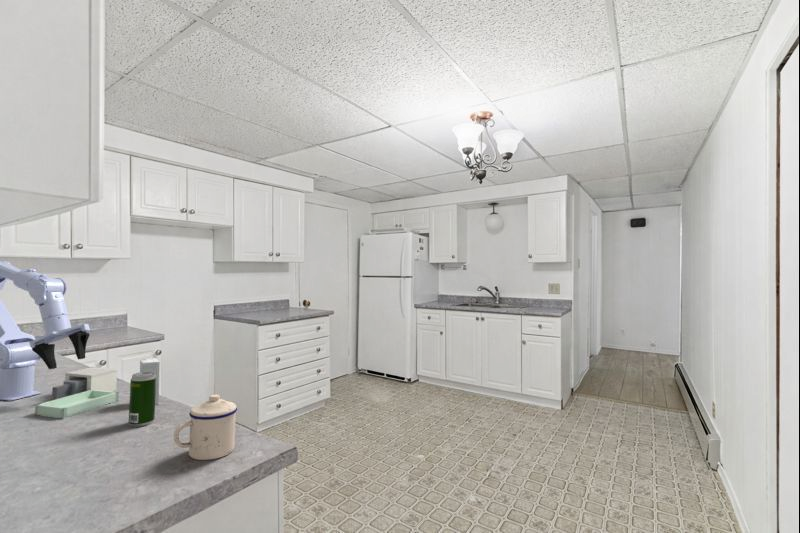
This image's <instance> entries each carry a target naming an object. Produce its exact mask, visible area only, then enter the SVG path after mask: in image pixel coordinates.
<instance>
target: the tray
mask: <svg viewBox="0 0 800 533" xmlns="http://www.w3.org/2000/svg"><path fill="white" fill-rule="evenodd" d="M116 401H117V402H119V391H103V390H94V389H92V390H89V391H85V392H81V393H78V394H74V395H71V396H67V397H63V398H60V399H56V400H52V399H51V400H48V401H45V402H42V403H39V404H35V407H34V416H38V415H41V416H40V417H46V416H47V417H48V418H56V419H61V420H63V419H67V418H69V417H70V418H71V417H72V416H76V415H79V413H80V414H82V412H83V413H85V411H86V412H89V411H92V410H94V408H95V409H97V407H98V408H101V407H104V406H106V404H107V405H110V404H114V403H117V402H116ZM109 403H110V404H109ZM103 405H104V406H103ZM100 406H101V407H100ZM88 410H89V411H88Z"/></svg>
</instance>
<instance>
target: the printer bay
mask: <svg viewBox="0 0 800 533" xmlns="http://www.w3.org/2000/svg"><path fill="white" fill-rule="evenodd" d="M64 376H65V378H64V381H67V380H71V379H75V378H79V377H87V391H89V390H92V389H94V390H103V391H112V392H115V391H114V390H116V391H117V380H118V369H116V368H104V367H97V366H96V367H95V366H94V367H86V368H82V369H78V370H74V371H67V372H65V375H64Z"/></svg>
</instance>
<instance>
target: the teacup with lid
mask: <svg viewBox="0 0 800 533" xmlns="http://www.w3.org/2000/svg"><path fill="white" fill-rule="evenodd" d="M237 411H238V407H237V405H236V403H234V402H232V401H227V400H226V399H222V398H221V397H220V395H219V394H211V395H209V397H208V399H207V400H205V401H204V402H201V403H199V404H195V405H194V406H193V407H192V408H191V409H190V411H189V417H190V418H189V421H184V422H182V423H181V424H179V425H177V427H175V430H174V432H173V440H174V442H175V444H176V445H177V446H178V447H180V448H182V449H183V448H186V449H187V448H188V455H189V457H191V459H194V460H198V461H209V460H210V461H211V460H217V459H220V458H223V457H225V456H228V455H229V454H231V453H233V451H234V450H235V438H236V437H235V436H236V416H237ZM186 427H189V441H188V442H182V441H180V438H179V435H180V432H181V431H182V430H183V429H184V428H186Z"/></svg>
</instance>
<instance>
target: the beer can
mask: <svg viewBox="0 0 800 533" xmlns="http://www.w3.org/2000/svg"><path fill="white" fill-rule="evenodd" d="M155 374H156V373H155V372H141V373H140V372H136V373H133V374H131V378H130V386H129V404H128V408H129V409H128V424H129V426H130V427H133V428H138V427H146V426H149V425H151V424H153V422H154V421H155V417H156V415H155V414H156V413H155V412H156V405H155V397H156V375H155Z"/></svg>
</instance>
